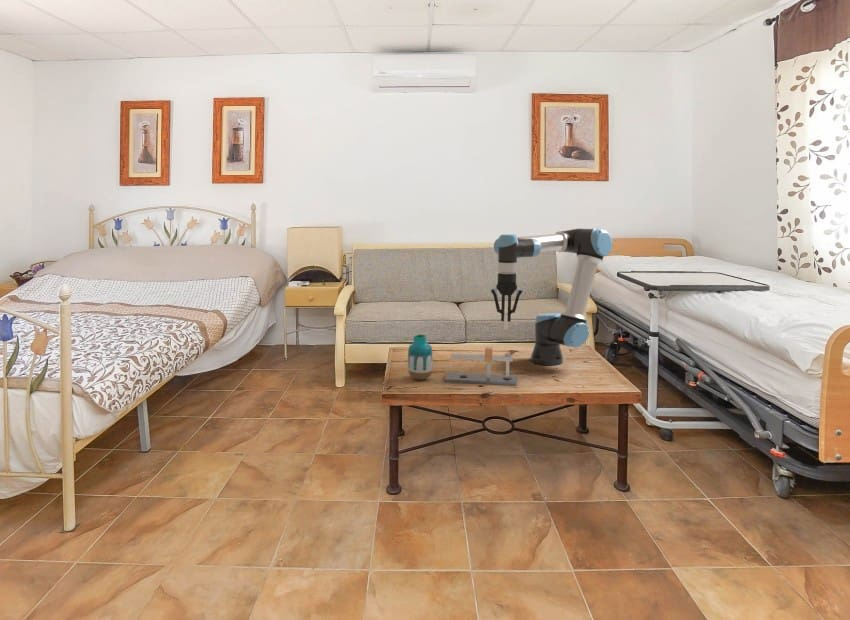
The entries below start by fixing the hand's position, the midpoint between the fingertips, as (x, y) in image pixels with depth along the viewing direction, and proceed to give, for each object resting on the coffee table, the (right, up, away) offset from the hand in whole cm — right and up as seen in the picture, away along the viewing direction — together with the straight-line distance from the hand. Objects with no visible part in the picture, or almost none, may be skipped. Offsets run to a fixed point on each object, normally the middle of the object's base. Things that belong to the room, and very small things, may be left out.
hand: (505, 329), depth 220 cm
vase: (-36, -22, +8) cm, 43 cm away
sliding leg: (-7, -20, +5) cm, 22 cm away
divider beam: (-10, -21, +6) cm, 24 cm away
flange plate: (-10, -22, +6) cm, 25 cm away
